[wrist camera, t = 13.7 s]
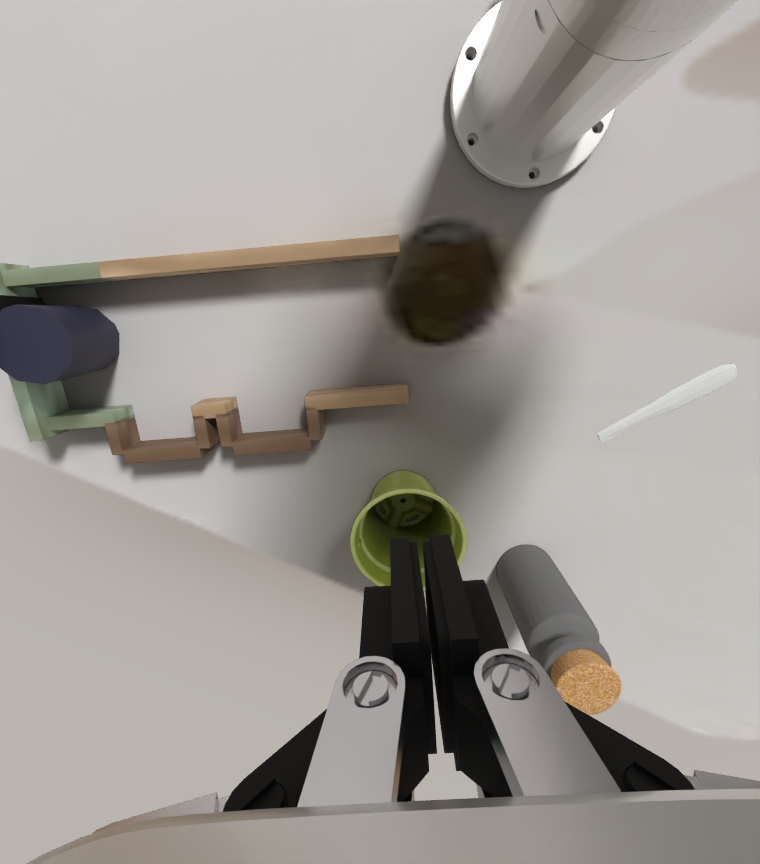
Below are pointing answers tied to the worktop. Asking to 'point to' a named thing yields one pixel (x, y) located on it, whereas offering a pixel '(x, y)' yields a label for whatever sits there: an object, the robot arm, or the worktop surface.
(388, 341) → the worktop surface
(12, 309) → the black blue bulged block
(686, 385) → the white baseball bat
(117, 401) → the worktop surface
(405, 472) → the plant pot
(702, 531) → the worktop surface
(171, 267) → the trap channel
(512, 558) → the bottle
